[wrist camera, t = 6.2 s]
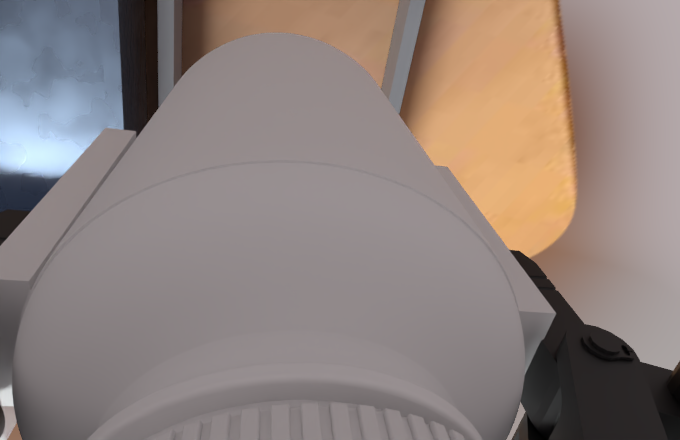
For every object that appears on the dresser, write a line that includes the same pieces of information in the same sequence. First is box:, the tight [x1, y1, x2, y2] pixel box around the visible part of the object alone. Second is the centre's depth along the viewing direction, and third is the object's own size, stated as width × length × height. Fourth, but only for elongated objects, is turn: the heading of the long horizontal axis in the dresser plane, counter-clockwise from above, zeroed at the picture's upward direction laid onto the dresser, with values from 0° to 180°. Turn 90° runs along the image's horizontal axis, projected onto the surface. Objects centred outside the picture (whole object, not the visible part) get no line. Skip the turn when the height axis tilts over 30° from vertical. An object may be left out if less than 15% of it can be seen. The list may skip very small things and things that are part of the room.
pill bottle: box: [12, 33, 525, 440], centre depth 11 cm, size 8×8×15 cm
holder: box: [157, 0, 425, 114], centre depth 28 cm, size 14×14×2 cm
